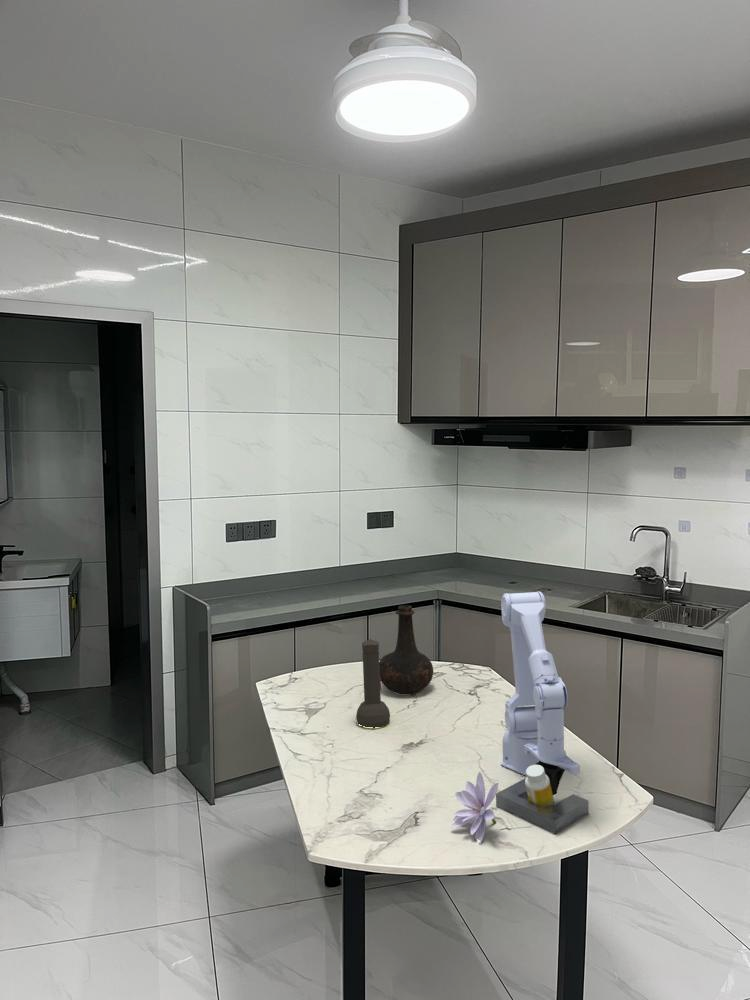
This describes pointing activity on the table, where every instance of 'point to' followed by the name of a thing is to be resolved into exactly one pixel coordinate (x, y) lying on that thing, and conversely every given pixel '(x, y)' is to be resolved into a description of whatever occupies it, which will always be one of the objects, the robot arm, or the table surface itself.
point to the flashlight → (372, 689)
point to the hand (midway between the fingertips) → (551, 793)
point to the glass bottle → (405, 660)
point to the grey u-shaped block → (548, 819)
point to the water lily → (475, 806)
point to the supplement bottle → (538, 787)
